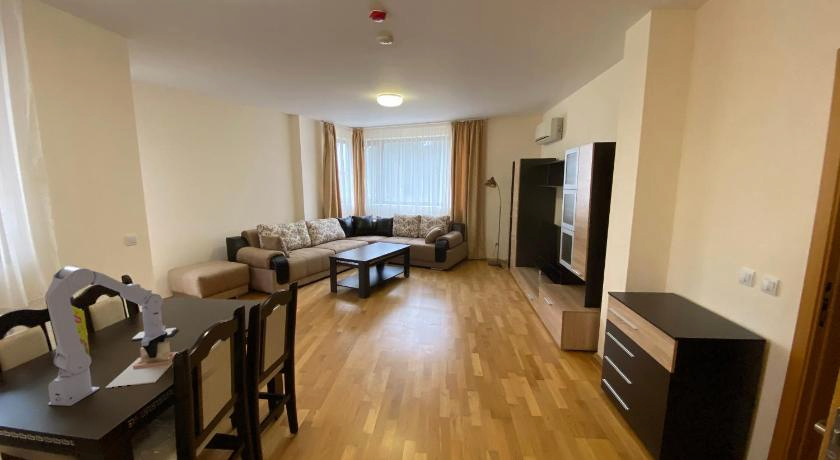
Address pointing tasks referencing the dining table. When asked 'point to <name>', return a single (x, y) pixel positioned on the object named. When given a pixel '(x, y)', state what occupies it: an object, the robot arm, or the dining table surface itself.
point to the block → (162, 353)
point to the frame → (140, 365)
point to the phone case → (141, 334)
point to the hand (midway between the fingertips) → (156, 354)
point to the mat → (139, 375)
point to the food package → (81, 327)
